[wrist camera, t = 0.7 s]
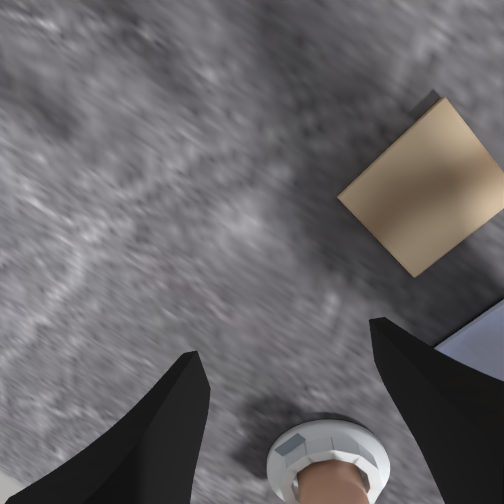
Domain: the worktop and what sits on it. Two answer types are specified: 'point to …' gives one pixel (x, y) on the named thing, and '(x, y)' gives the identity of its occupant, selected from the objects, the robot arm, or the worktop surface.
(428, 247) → the mat
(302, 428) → the plate
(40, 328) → the worktop surface
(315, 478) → the mug
